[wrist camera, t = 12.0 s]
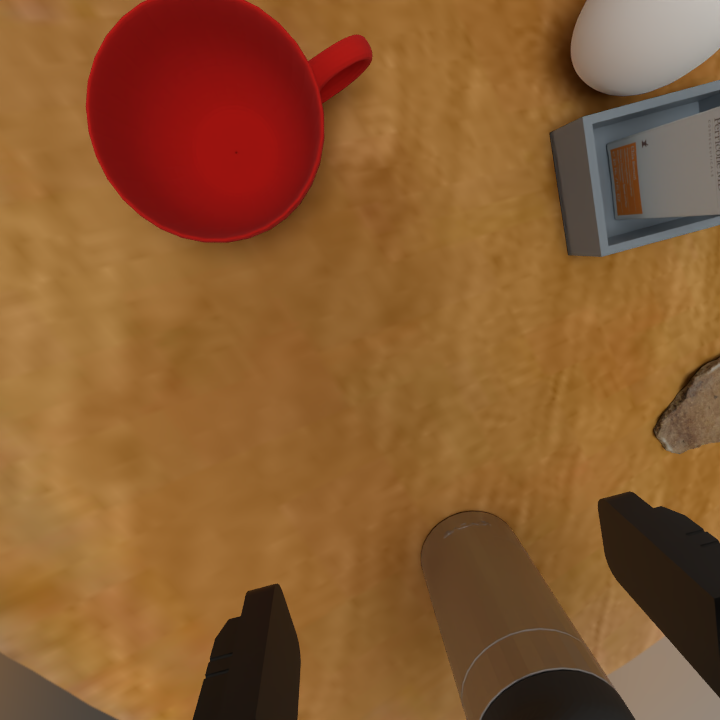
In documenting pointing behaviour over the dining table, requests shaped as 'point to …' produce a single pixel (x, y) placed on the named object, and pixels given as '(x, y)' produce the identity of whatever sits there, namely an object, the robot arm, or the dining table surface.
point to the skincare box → (668, 169)
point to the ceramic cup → (212, 115)
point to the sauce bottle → (642, 42)
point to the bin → (593, 178)
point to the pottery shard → (693, 413)
